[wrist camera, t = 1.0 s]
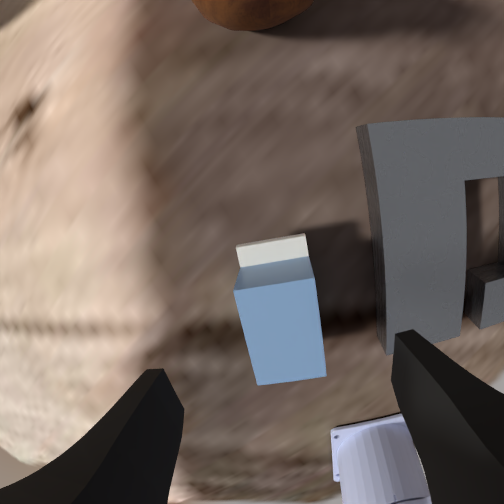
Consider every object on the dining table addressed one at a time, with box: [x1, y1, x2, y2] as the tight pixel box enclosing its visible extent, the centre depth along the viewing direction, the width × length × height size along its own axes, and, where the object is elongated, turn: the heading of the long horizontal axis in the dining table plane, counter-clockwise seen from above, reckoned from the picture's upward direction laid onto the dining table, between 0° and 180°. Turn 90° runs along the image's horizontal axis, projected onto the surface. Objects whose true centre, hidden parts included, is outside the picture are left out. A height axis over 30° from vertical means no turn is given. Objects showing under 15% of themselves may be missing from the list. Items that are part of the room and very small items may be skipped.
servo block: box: [233, 233, 326, 385], centre depth 18 cm, size 8×4×6 cm, turn 12°
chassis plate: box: [356, 117, 504, 355], centre depth 17 cm, size 14×16×2 cm
